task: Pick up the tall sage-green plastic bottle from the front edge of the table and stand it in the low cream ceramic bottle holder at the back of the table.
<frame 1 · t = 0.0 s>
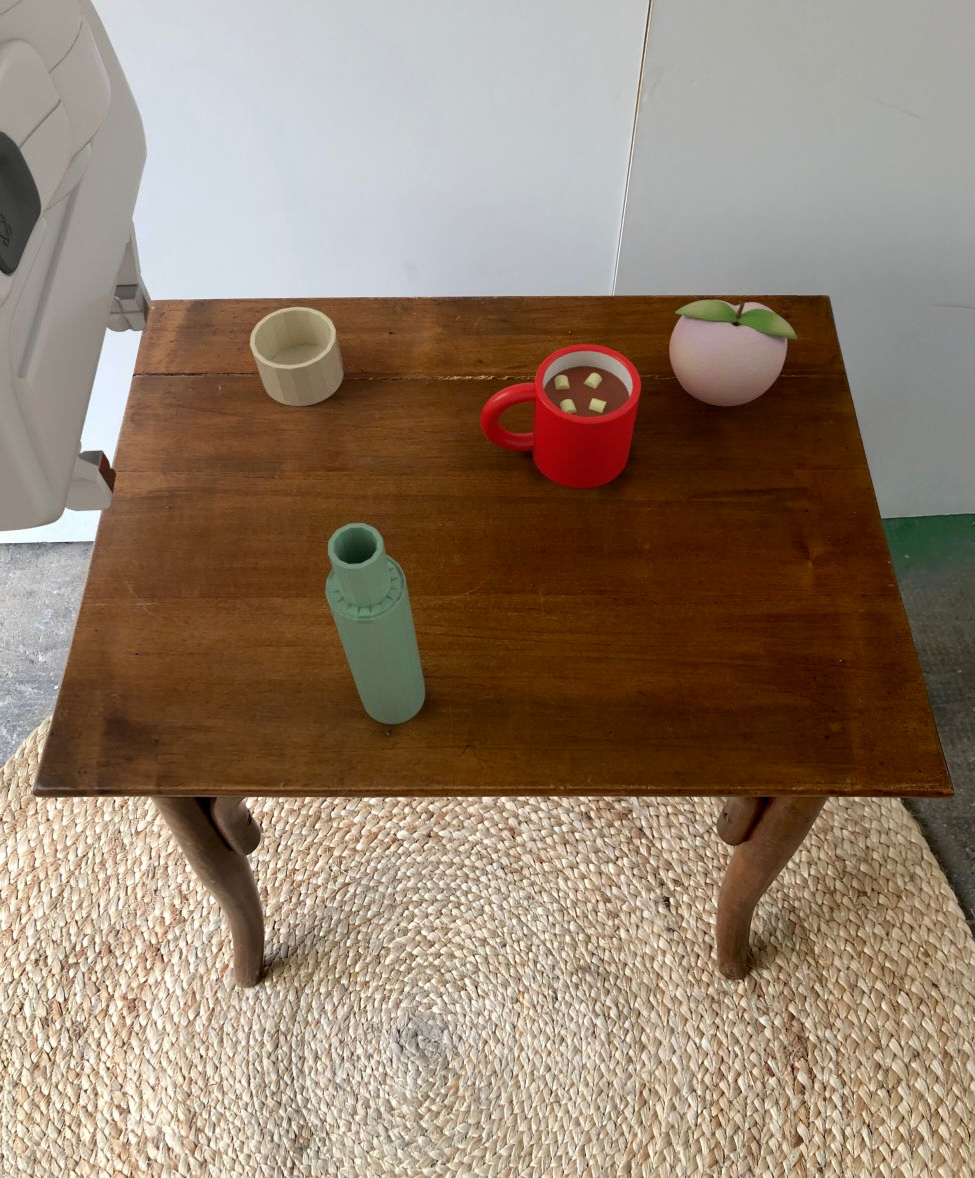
hand: (114, 402, 37), 30 cm above the table, tool pointing down, fingers open, 8 cm apart
holder: (303, 375, 78), on the table
bottle: (393, 694, 63), on the table
decorative fruit: (715, 399, 76), on the table
mug: (554, 453, 74), on the table
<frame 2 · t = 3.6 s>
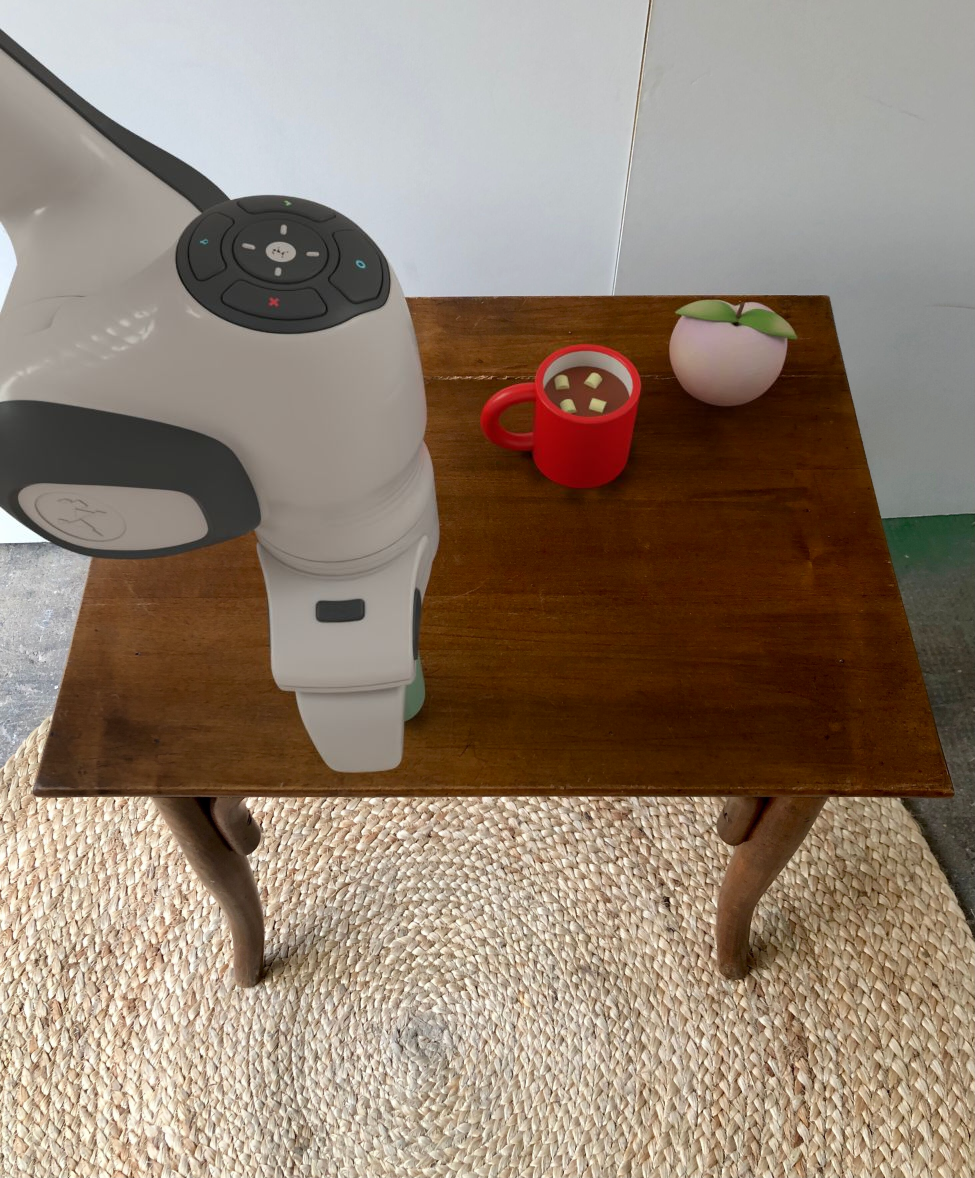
hand: (380, 645, 56), 8 cm above the table, tool pointing down, fingers closed on bottle, 4 cm apart
bottle: (393, 694, 63), on the table, touching gripper
everything else where it was.
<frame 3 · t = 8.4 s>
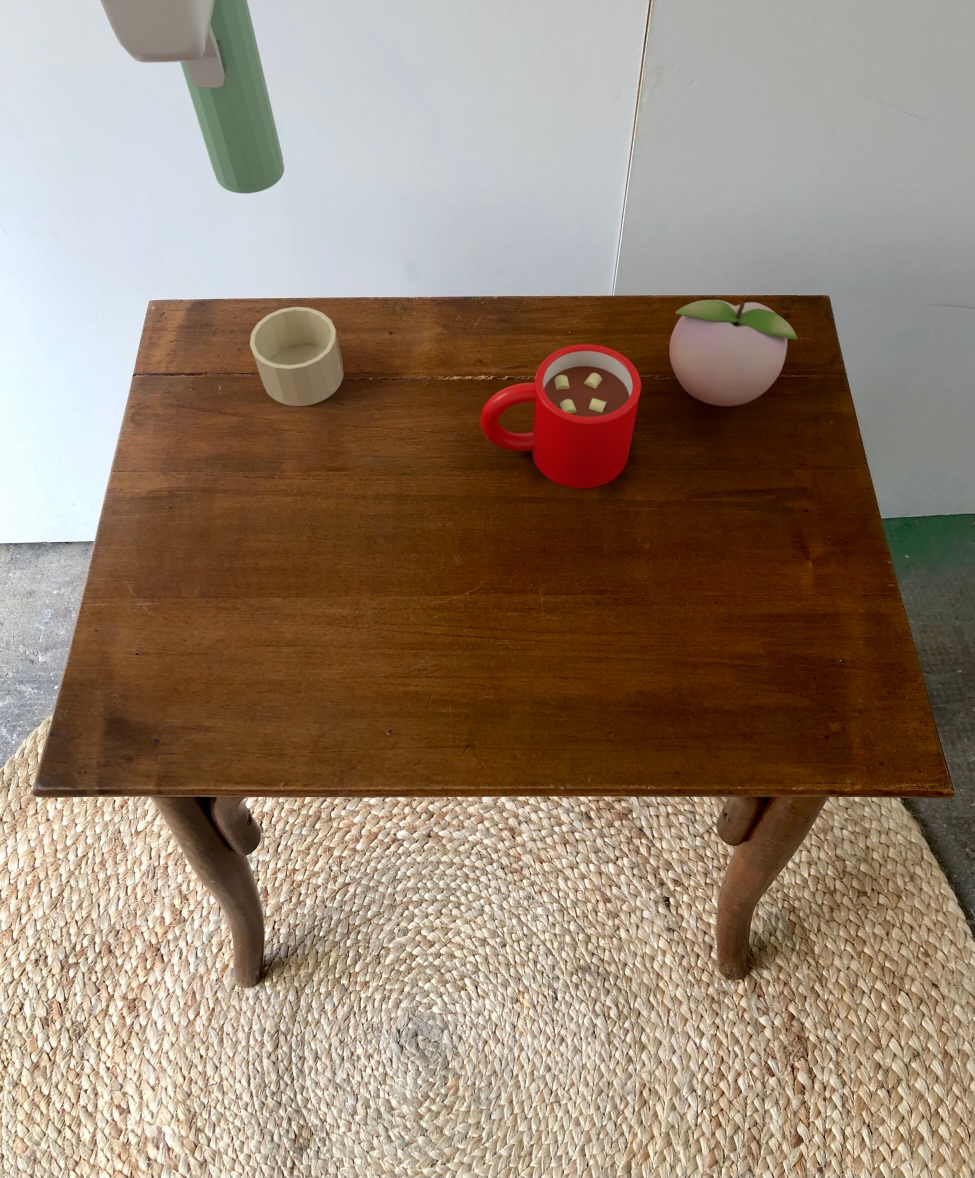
hand: (216, 51, 52), 29 cm above the table, tool pointing down, fingers closed on bottle, 4 cm apart
bottle: (250, 171, 58), point 21 cm above the table, touching gripper
everything else where it was.
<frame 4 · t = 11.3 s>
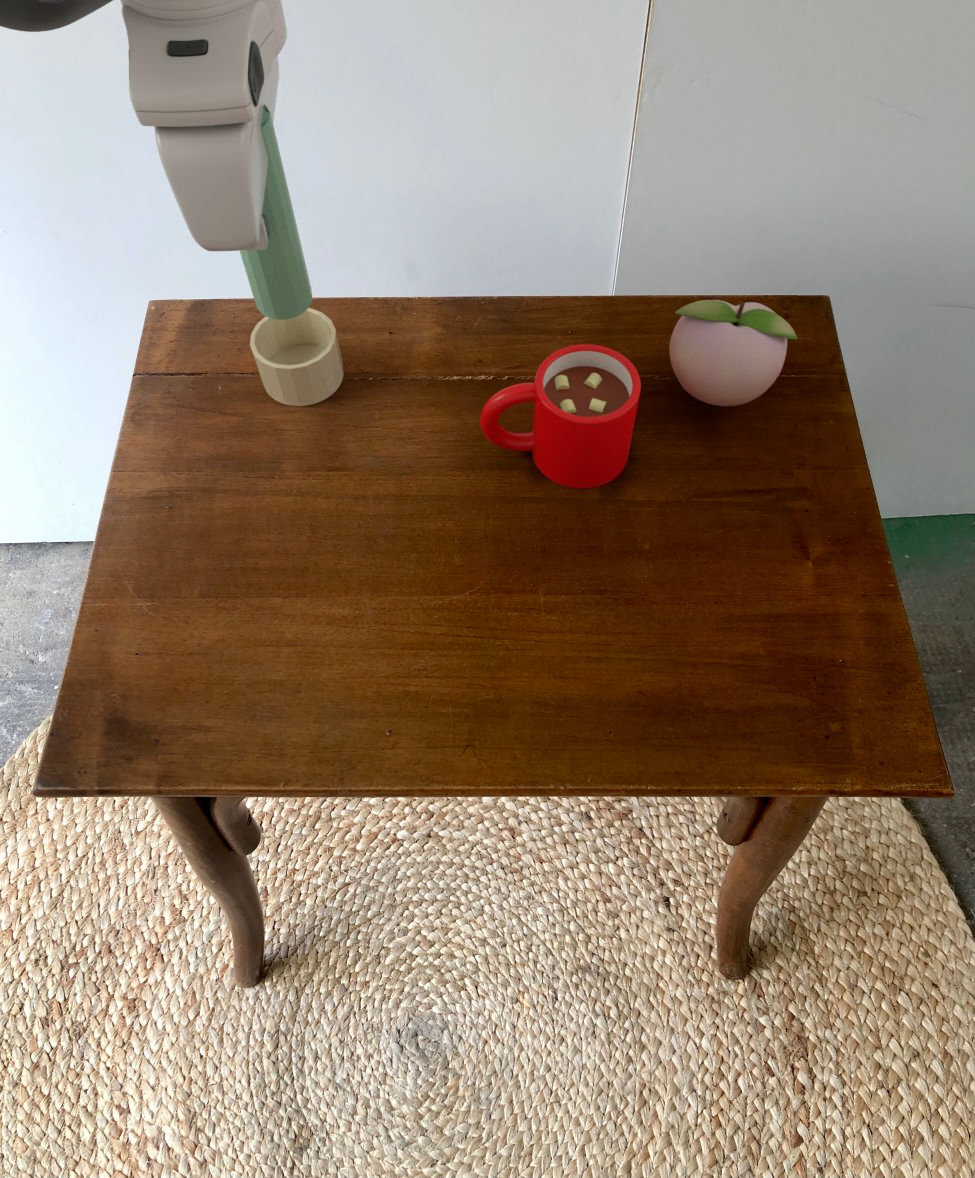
hand: (260, 216, 64), 16 cm above the table, tool pointing down, fingers closed on bottle, 4 cm apart
bottle: (284, 300, 71), point 8 cm above the table, touching gripper
everything else where it was.
when the fingers open (8 cm above the table, at t = 13.5 s): bottle stays where it is, resting on holder.
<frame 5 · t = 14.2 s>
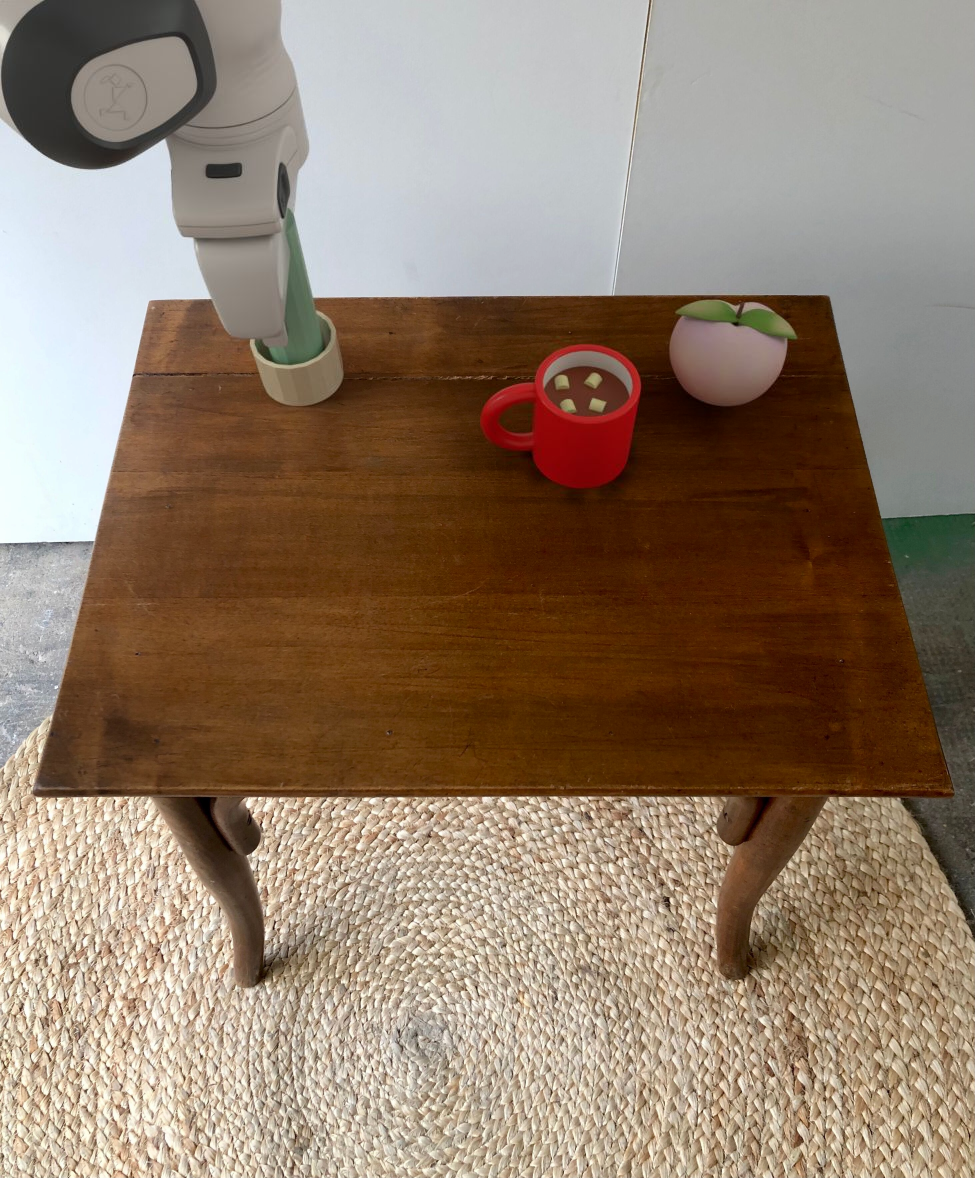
hand: (281, 296, 71), 9 cm above the table, tool pointing down, fingers open, 8 cm apart
bottle: (303, 370, 78), point 1 cm above the table, touching holder
everything else where it was.
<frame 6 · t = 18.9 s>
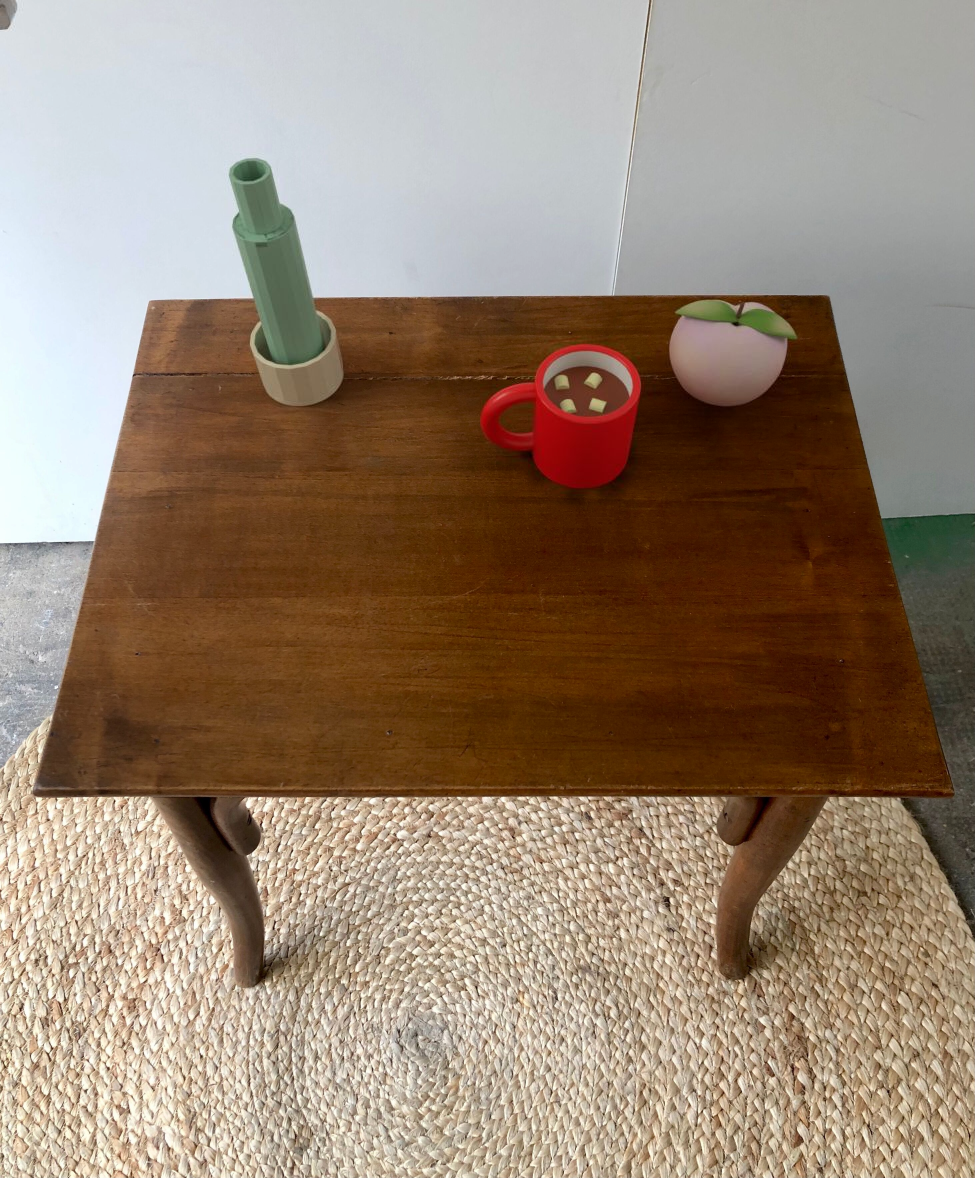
nothing on the table moved.
at the end: bottle 0.1 cm off-centre in the holder, point 0.6 cm above the holder's base; bottle tilted 0°; the gripper is holding nothing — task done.
